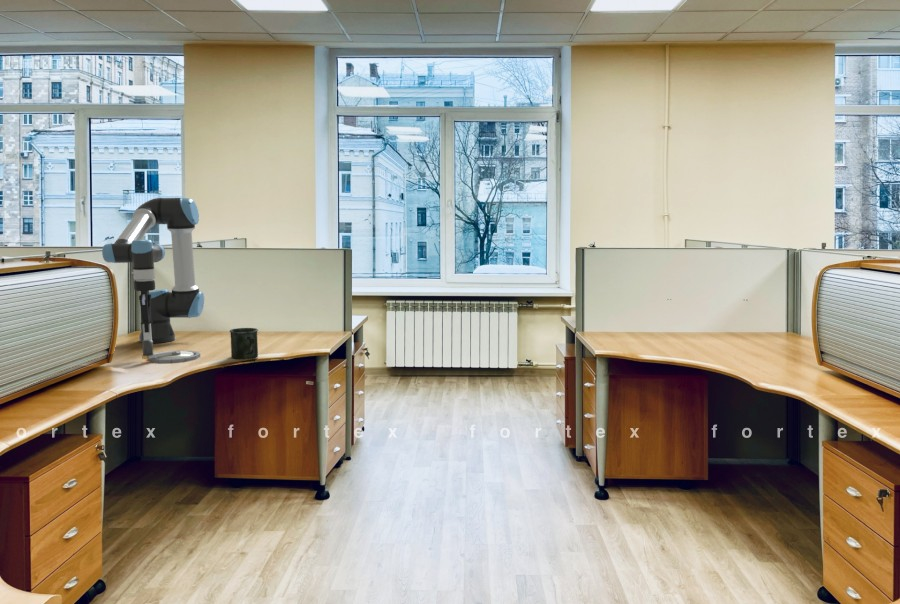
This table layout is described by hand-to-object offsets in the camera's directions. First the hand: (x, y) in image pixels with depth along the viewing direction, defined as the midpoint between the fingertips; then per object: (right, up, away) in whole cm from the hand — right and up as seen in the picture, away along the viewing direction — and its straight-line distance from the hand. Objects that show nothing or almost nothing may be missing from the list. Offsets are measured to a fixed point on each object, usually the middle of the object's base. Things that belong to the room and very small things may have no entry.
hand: (147, 340), depth 277 cm
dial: (+8, -7, -1) cm, 11 cm away
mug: (+38, -8, +2) cm, 39 cm away
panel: (+10, -8, +1) cm, 13 cm away
